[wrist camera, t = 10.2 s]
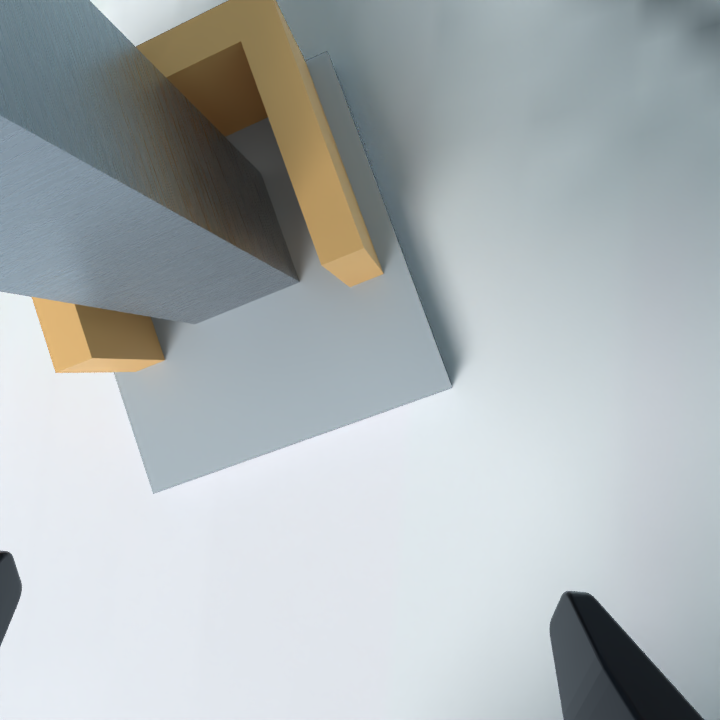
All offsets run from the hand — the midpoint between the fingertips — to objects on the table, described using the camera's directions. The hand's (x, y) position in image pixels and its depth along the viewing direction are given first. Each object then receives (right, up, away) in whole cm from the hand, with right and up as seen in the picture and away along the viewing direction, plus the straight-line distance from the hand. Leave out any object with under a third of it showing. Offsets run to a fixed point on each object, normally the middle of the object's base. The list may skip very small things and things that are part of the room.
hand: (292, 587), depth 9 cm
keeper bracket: (-3, +7, +11) cm, 13 cm away
